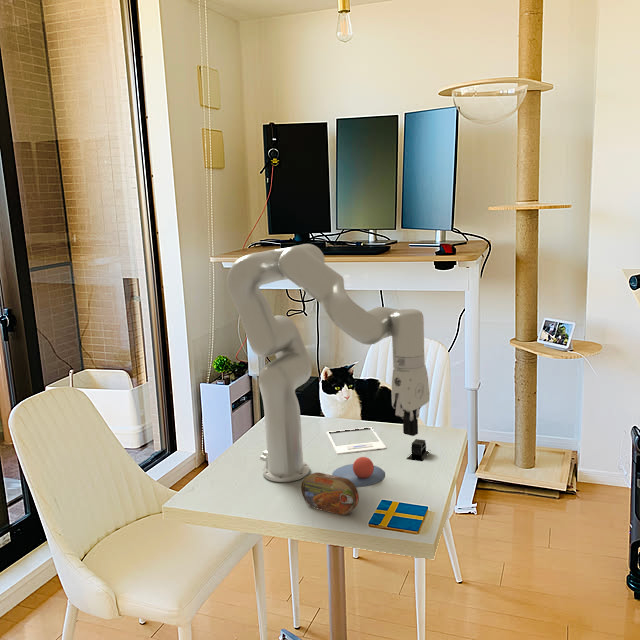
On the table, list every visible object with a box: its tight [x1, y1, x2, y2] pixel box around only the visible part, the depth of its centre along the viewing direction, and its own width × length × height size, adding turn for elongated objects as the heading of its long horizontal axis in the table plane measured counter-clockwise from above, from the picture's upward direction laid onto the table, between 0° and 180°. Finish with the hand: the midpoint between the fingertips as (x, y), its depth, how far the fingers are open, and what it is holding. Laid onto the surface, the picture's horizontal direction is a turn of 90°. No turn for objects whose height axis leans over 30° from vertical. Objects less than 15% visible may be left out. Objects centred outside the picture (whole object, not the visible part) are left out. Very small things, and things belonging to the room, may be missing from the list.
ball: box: [352, 456, 375, 478], centre depth 171 cm, size 6×6×6 cm
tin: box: [300, 472, 360, 516], centre depth 154 cm, size 15×3×8 cm, turn 56°
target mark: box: [331, 463, 385, 488], centre depth 173 cm, size 14×14×1 cm
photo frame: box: [325, 426, 387, 455], centre depth 197 cm, size 15×1×18 cm
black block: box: [405, 438, 430, 462], centre depth 184 cm, size 12×7×5 cm, turn 153°
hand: (410, 433), depth 159 cm, fingers closed
